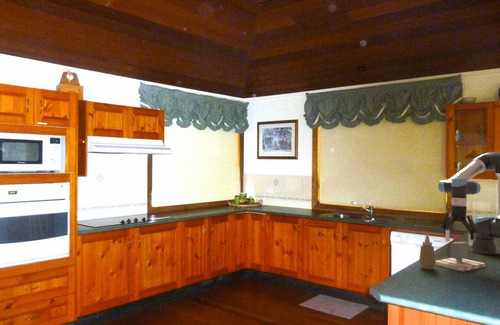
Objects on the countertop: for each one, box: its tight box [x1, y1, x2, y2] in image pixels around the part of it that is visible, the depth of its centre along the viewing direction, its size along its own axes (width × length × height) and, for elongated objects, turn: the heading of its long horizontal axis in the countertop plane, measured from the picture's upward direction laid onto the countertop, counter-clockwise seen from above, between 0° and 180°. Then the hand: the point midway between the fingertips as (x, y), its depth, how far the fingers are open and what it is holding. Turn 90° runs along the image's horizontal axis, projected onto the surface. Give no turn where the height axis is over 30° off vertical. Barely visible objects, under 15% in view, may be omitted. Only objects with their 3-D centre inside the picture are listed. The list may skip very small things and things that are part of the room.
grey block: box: [449, 240, 469, 259], centre depth 221 cm, size 10×4×8 cm, turn 119°
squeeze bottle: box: [418, 234, 436, 271], centre depth 215 cm, size 8×8×18 cm
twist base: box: [434, 257, 486, 272], centre depth 221 cm, size 20×17×4 cm
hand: (458, 243), depth 221 cm, fingers open, 13 cm apart
